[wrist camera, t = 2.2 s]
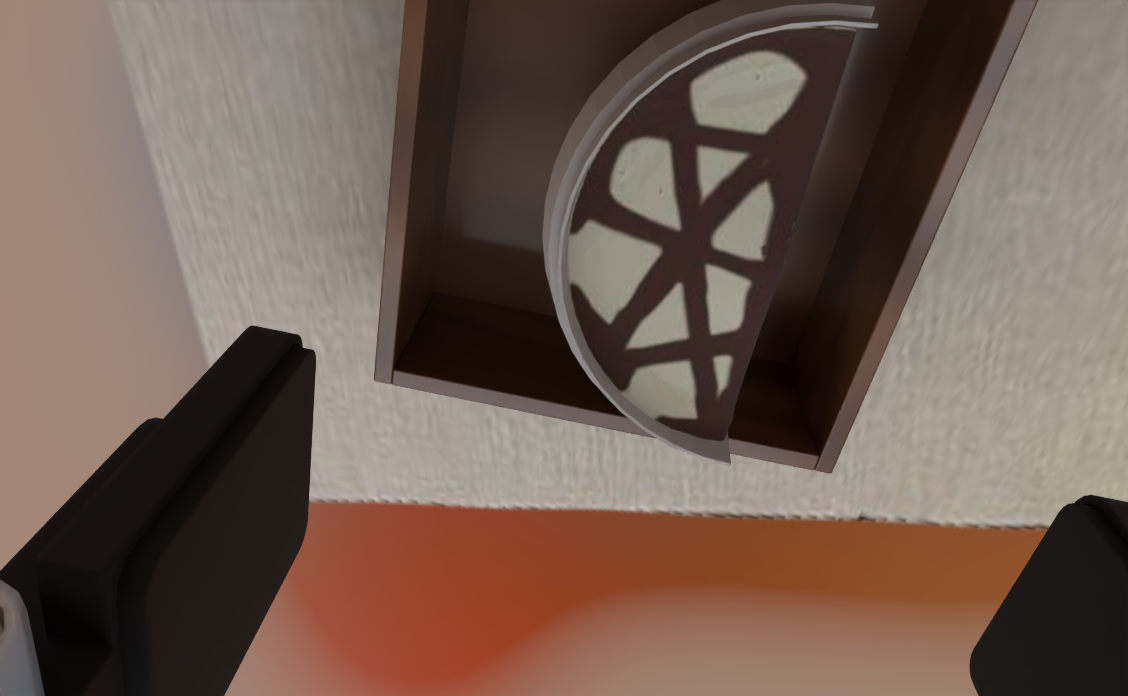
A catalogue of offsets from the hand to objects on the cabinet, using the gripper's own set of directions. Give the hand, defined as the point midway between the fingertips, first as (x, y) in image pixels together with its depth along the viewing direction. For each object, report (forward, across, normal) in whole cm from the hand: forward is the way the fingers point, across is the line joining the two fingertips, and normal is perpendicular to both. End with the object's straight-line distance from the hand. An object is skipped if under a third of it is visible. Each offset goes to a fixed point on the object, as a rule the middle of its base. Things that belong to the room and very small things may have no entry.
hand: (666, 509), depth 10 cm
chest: (+20, -1, 0) cm, 21 cm away
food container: (+20, -1, 0) cm, 20 cm away
